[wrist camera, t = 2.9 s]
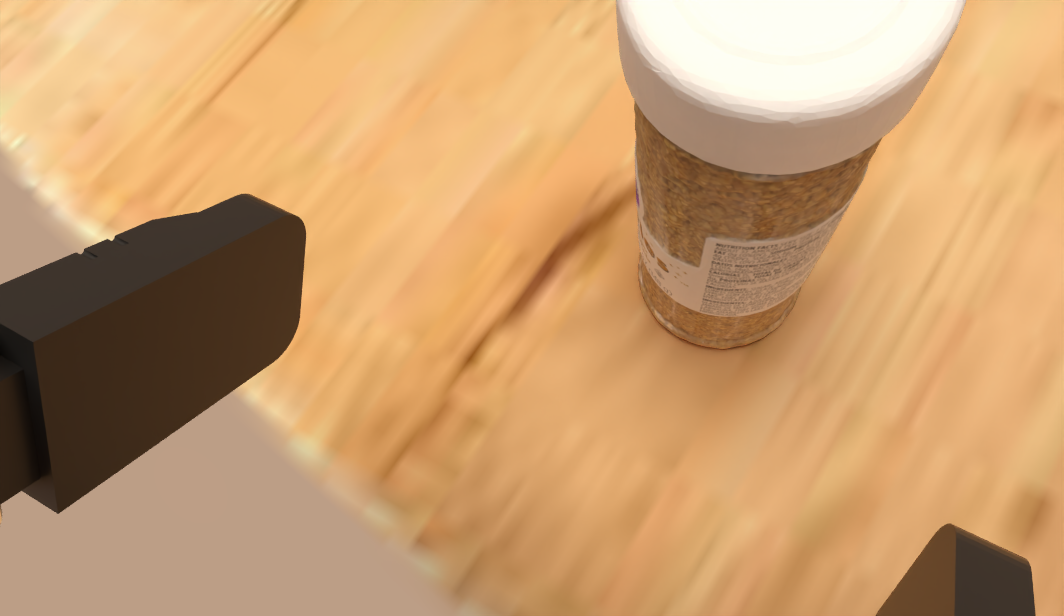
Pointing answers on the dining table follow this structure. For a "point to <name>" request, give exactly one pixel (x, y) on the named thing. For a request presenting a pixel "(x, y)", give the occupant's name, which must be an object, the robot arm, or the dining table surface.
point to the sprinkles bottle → (759, 141)
